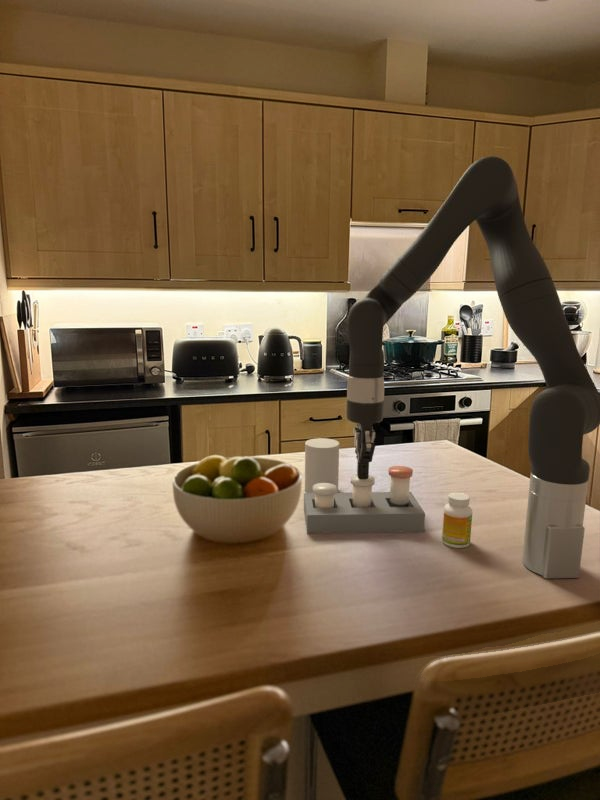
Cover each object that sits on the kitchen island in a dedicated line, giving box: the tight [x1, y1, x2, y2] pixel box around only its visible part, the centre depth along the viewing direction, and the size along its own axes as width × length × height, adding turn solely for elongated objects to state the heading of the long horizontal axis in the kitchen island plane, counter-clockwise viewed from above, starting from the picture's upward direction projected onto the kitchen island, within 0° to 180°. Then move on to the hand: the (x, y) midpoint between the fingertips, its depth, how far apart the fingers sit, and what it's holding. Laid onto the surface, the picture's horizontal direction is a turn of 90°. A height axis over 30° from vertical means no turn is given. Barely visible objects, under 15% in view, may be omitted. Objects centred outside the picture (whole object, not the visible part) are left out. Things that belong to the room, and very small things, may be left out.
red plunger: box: [388, 465, 414, 505], centre depth 121 cm, size 5×5×7 cm
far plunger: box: [313, 483, 337, 508], centre depth 121 cm, size 5×5×7 cm
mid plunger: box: [350, 473, 375, 508], centre depth 121 cm, size 5×5×7 cm
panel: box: [303, 491, 426, 535], centre depth 122 cm, size 12×24×4 cm, turn 93°
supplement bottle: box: [441, 492, 473, 549], centre depth 112 cm, size 5×5×10 cm
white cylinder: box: [304, 437, 340, 493], centre depth 139 cm, size 8×8×12 cm
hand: (362, 477), depth 121 cm, fingers closed
